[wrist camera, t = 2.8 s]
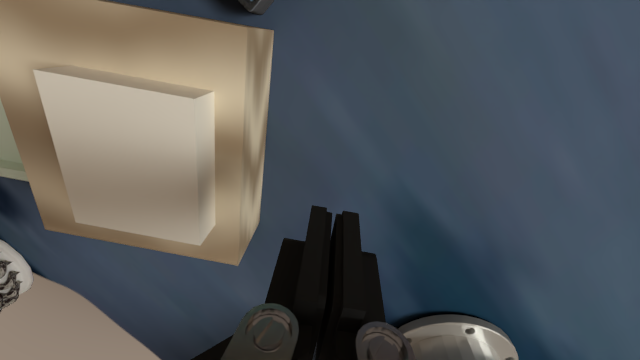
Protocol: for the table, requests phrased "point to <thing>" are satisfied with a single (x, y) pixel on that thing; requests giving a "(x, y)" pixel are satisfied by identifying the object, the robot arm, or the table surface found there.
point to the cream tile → (133, 151)
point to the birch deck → (150, 63)
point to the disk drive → (256, 5)
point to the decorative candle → (13, 275)
